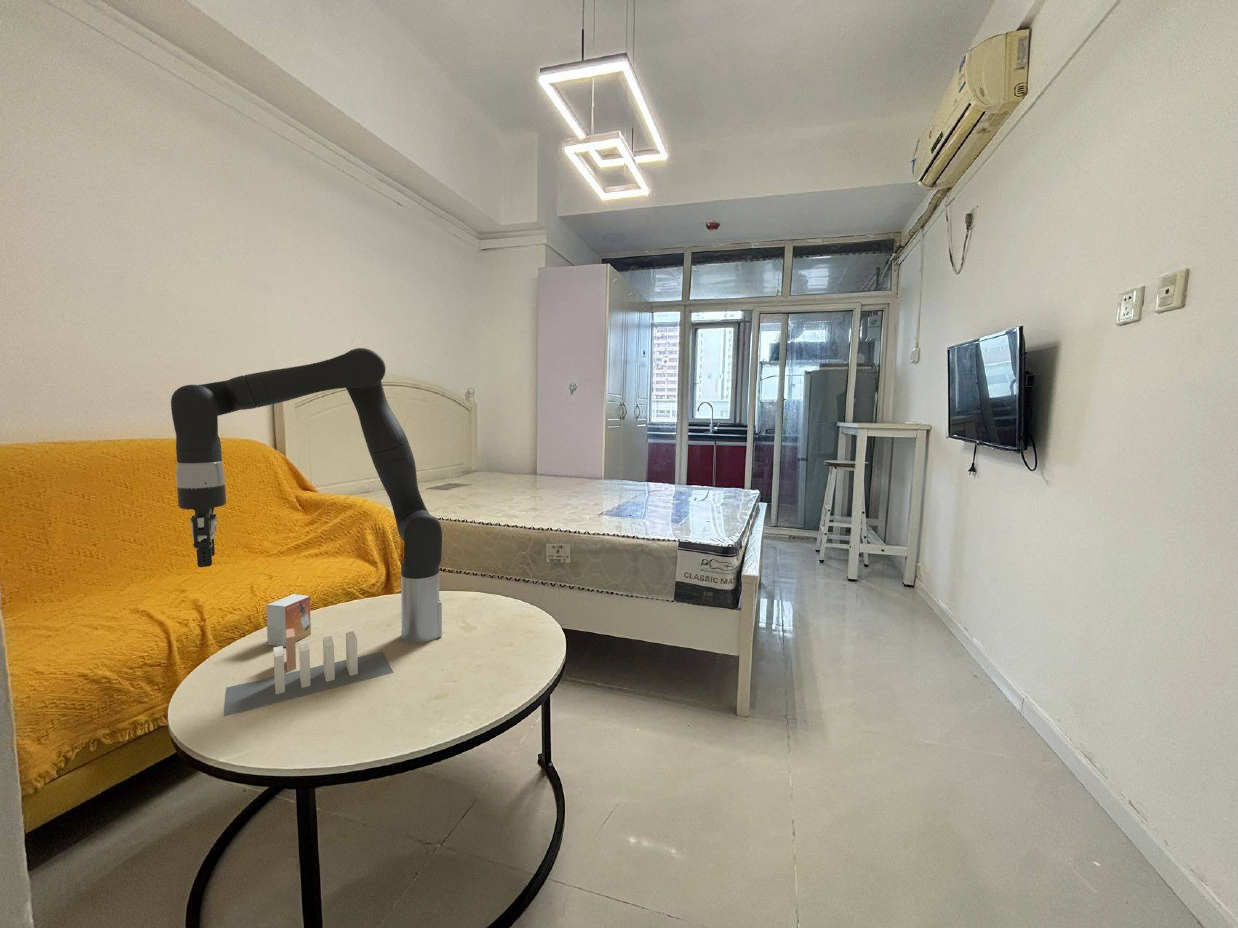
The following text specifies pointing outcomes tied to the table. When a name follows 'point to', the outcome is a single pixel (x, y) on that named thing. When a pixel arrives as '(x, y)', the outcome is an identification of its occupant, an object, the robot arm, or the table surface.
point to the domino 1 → (279, 670)
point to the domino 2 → (290, 649)
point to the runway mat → (264, 689)
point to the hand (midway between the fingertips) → (206, 561)
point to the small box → (288, 619)
